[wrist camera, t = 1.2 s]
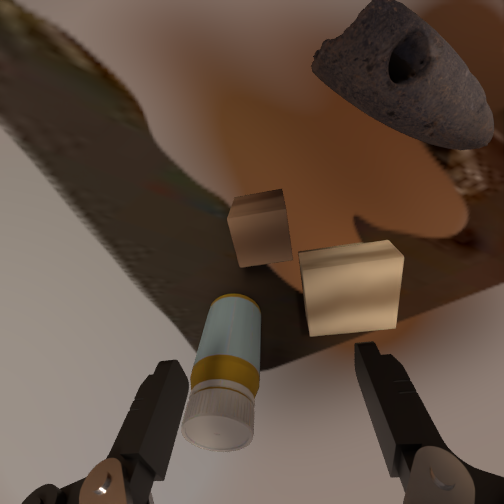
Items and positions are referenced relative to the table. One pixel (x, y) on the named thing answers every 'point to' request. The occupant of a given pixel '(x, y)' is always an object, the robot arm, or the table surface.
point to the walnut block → (260, 228)
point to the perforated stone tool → (406, 78)
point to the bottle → (225, 377)
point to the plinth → (351, 287)
